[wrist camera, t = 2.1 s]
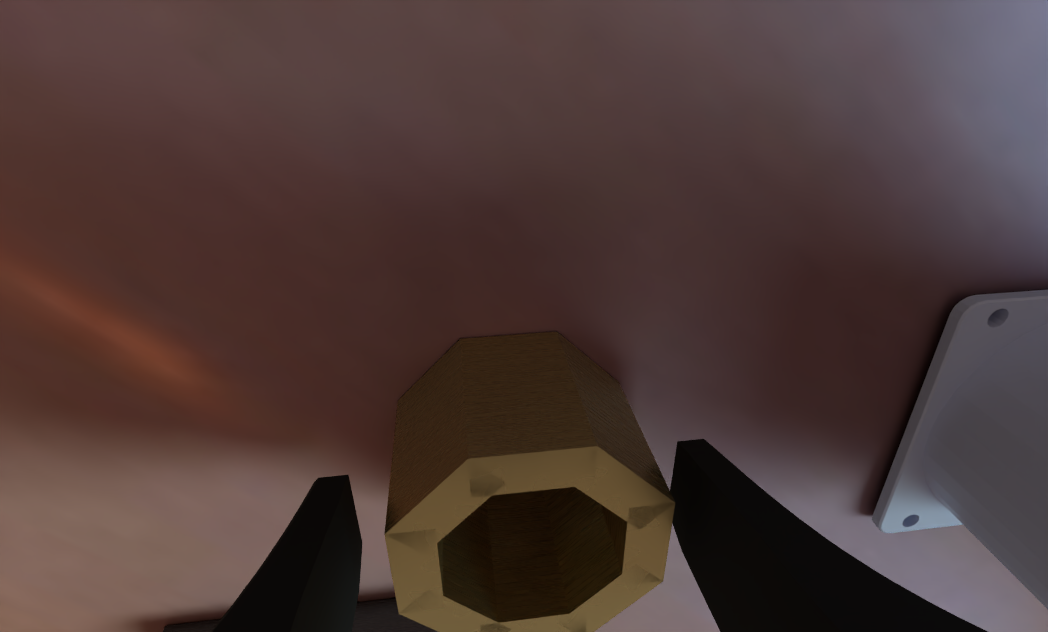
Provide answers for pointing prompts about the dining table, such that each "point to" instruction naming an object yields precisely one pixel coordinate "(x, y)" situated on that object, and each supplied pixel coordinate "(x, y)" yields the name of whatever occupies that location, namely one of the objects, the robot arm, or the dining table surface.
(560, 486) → the ring
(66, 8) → the dining table surface
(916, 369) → the dining table surface
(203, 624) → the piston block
